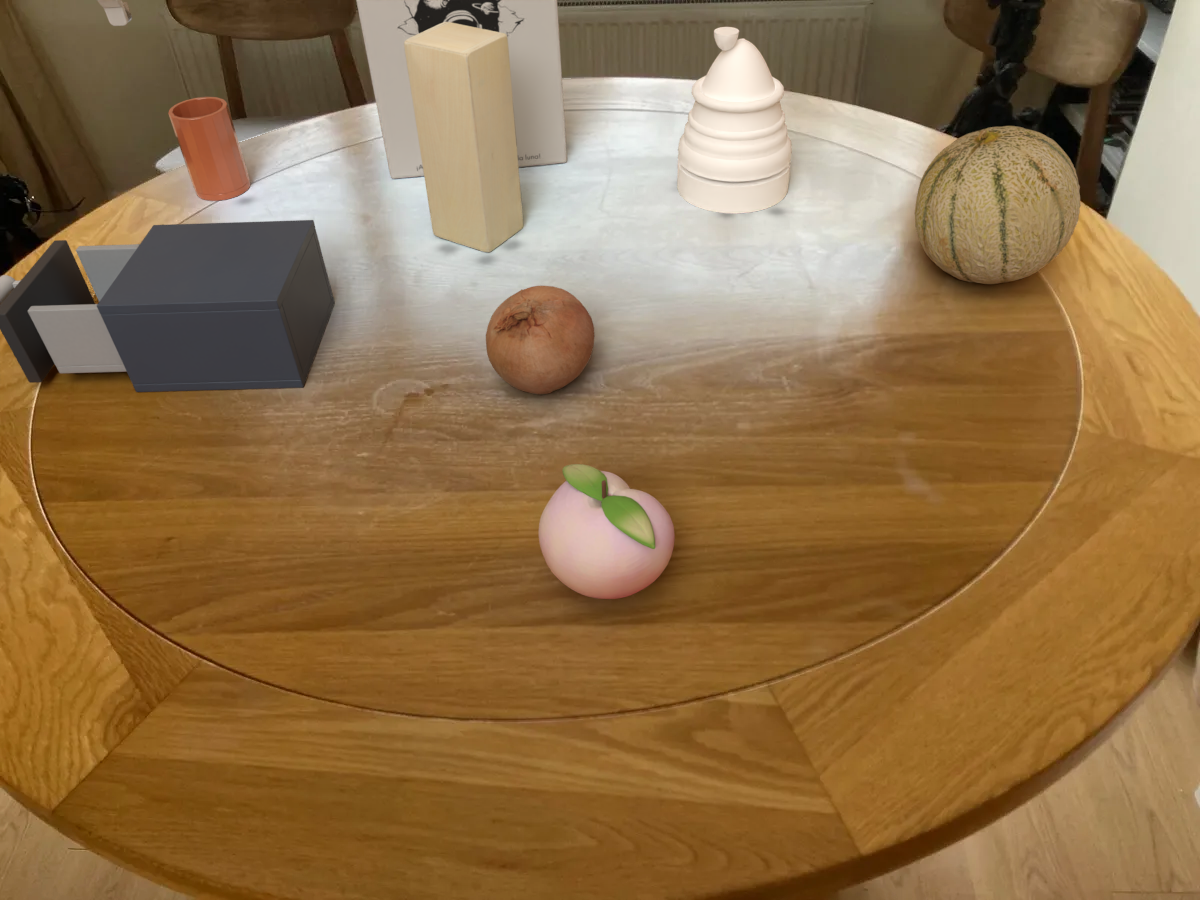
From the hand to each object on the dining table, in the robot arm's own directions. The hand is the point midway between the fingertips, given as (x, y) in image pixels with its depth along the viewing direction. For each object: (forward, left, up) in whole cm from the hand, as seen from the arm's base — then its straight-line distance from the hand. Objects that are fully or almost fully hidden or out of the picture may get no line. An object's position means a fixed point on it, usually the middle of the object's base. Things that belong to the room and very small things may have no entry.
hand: (139, 7), depth 99 cm
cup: (-1, +3, -22) cm, 22 cm away
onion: (+55, -7, -22) cm, 60 cm away
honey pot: (+52, +34, -22) cm, 66 cm away
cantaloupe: (+82, +30, -22) cm, 90 cm away
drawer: (+17, -25, -21) cm, 36 cm away
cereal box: (+21, +25, -22) cm, 40 cm away
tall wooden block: (+33, +11, -22) cm, 42 cm away
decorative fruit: (+73, -24, -22) cm, 80 cm away
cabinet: (+27, -18, -22) cm, 39 cm away
